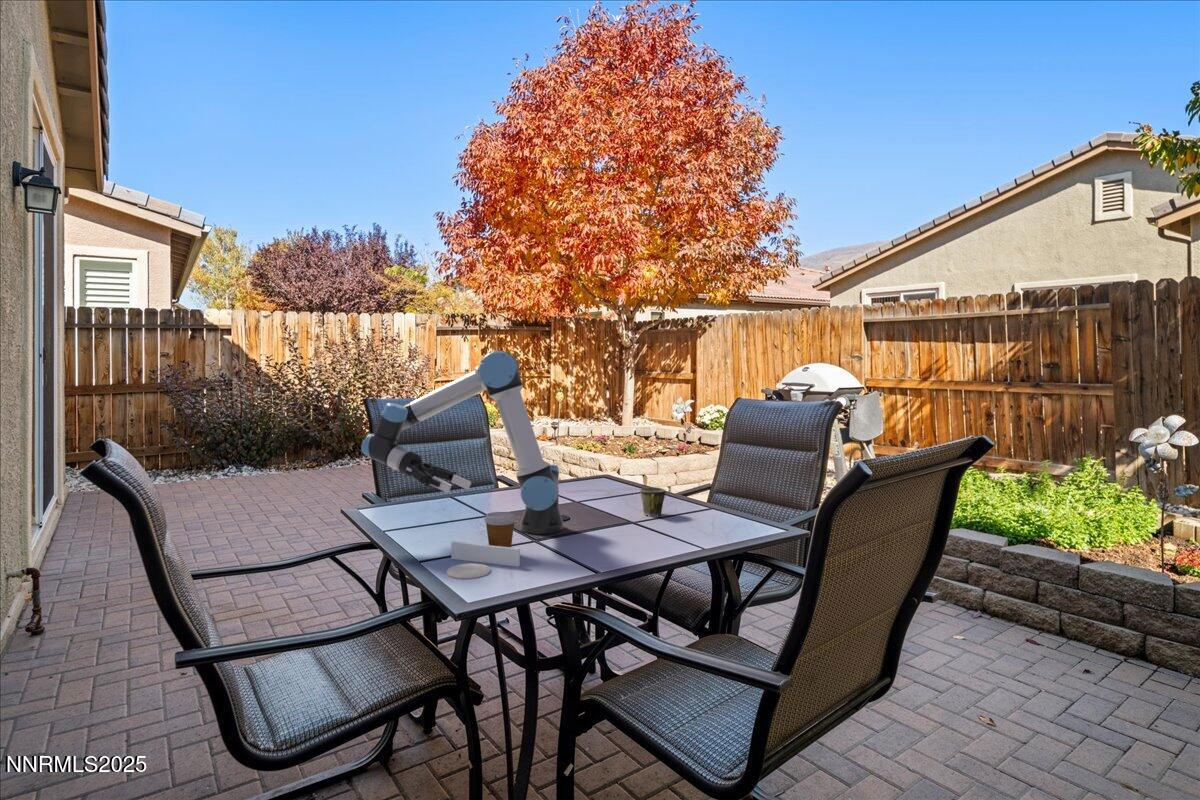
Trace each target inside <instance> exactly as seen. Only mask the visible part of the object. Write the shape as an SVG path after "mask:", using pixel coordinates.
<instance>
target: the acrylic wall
mask: <svg viewBox="0 0 1200 800" xmlns="http://www.w3.org/2000/svg"><path fill="white" fill-rule="evenodd" d="M450 543H451V544H450V545H451V546H450V547H451V551H450V552H451V556H450V557H451V559H452V560H460V561H467V562H468V561H469V562H476V563H481V564H482V563H484V564H493V565H501V566H510V567H518V568H519V567H520V566H521V564H520V563H521V548H518V547H511V548H510V547H501V546H492V545H489V544H480V543H471V542H465V541H464V542H463V541H455V540H454V541H452V542H450Z"/></svg>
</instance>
